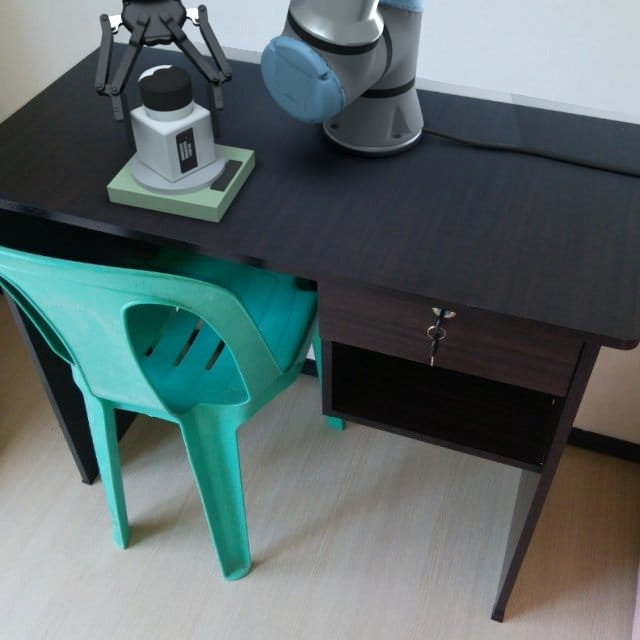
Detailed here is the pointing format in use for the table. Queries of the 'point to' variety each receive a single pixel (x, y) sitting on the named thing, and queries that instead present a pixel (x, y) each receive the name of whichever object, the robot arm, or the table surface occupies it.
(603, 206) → the table surface
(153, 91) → the container
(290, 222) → the table surface
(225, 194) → the scale
